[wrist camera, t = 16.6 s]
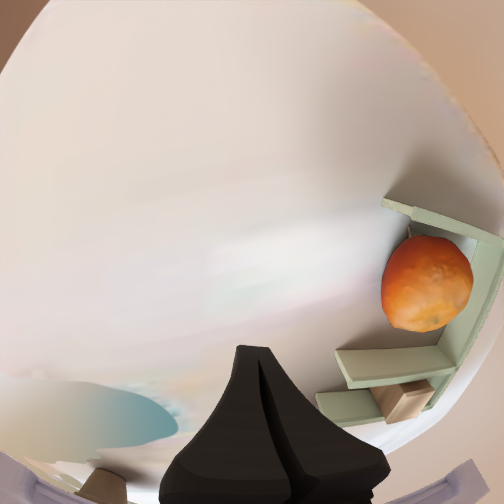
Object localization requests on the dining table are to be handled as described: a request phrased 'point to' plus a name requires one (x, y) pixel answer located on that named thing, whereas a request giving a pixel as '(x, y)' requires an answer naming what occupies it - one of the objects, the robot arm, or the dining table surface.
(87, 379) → the dining table surface
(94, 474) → the flower pot
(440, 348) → the divider frame
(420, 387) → the walnut box
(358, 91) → the dining table surface
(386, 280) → the fruit
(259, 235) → the dining table surface
